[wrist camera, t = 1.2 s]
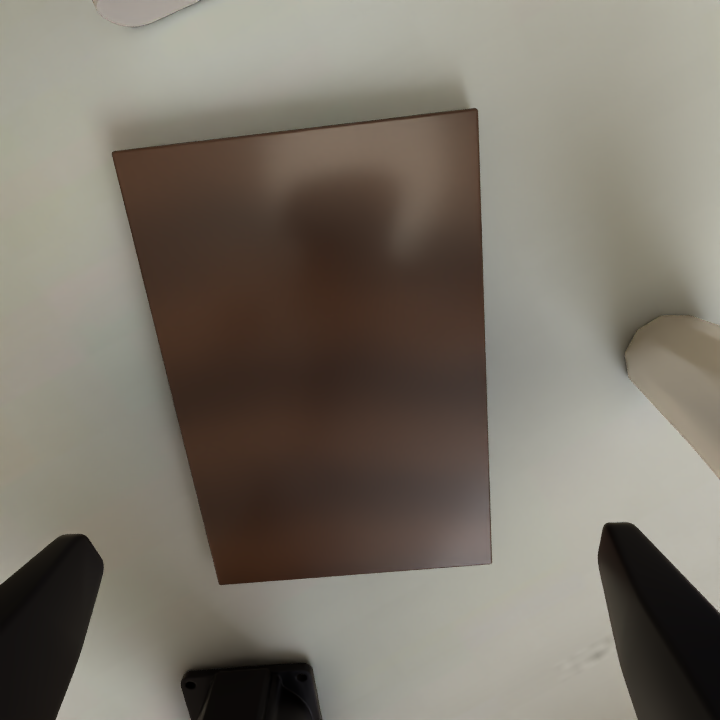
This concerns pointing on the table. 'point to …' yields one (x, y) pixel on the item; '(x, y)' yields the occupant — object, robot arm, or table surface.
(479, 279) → the walnut board
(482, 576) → the table surface
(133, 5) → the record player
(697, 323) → the milkshake
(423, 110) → the table surface
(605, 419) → the table surface
